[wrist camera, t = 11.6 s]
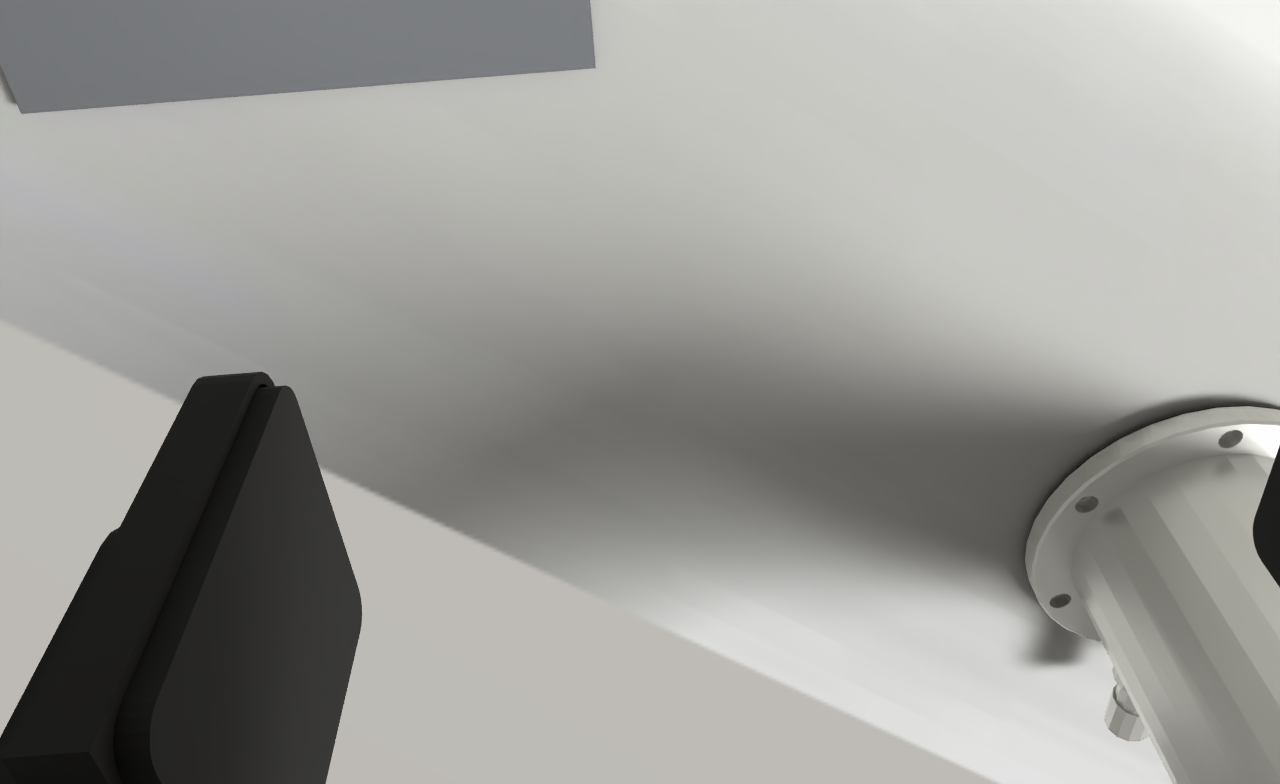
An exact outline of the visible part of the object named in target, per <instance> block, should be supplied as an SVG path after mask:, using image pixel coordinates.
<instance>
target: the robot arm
mask: <svg viewBox="0 0 1280 784" xmlns="http://www.w3.org/2000/svg"><path fill="white" fill-rule="evenodd" d="M1025 565H1026V570H1027V575H1028V580H1029V582H1030V584H1031V586H1032V588H1033V591H1034V593H1035V595H1036V597H1037V600H1038V602H1039V604H1040V605H1041V606H1042V608H1043V609H1044V610H1045V612H1046V613H1047V614H1048V615H1049V617H1050V618H1051V619H1053V620H1054V621H1055V622H1057V623H1058V624H1059V625H1061V626H1062V627H1063V628H1065V629H1066V630H1069V631H1071V632H1073V633H1075V634H1078V635H1080V636H1082V637H1085V638H1088V639H1092V640H1097V641H1101V642H1102V643H1103V645H1104V647H1105V649H1106V651H1107V653H1108V655H1109V657H1110V659H1111V661H1112V663H1113V665H1114V667H1113V674H1114V679H1115V681H1116V682H1117V683H1118V684H1117V685H1116V686H1115V687H1114V688H1113V691H1112V694H1111V697H1110V700H1109V703H1108V706H1107V709H1106V711H1105V719H1104V721H1105V723H1106V725H1107V727H1108V729H1109V730H1110V731H1111V732H1112V733H1114V734H1115V735H1116V736H1117V737H1119V738H1122V739H1124V740H1127V741H1141V740H1143V739H1145V738H1147V737H1148V735H1149V737H1150V739H1151V741H1152V743H1153V745H1154V747H1155V749H1156V751H1157V753H1158V755H1159V757H1160V759H1161V761H1162V763H1163V765H1164V767H1165V769H1166V771H1167V773H1168V775H1169V777H1170V779H1171V781H1172V782H1173V784H1280V410H1277V409H1269V408H1260V407H1251V406H1242V407H1221V408H1213V409H1207V410H1202V411H1197V412H1192V413H1186V414H1182V415H1179V416H1176V417H1172V418H1169V419H1166V420H1163V421H1160V422H1157V423H1154V424H1151V425H1149V426H1146V427H1144V428H1142V429H1140V430H1138V431H1136V432H1134V433H1132V434H1129V435H1127V436H1125V437H1123V438H1121V439H1119V440H1117V441H1116V442H1114V443H1113V444H1111V445H1109V446H1108V447H1106V448H1105V449H1103V450H1101V451H1100V452H1098V453H1097V454H1095V455H1094V456H1092V457H1091V458H1090V459H1088V460H1087V461H1086V462H1085V463H1084V464H1082V465H1081V466H1080V467H1079V468H1078V469H1076V470H1075V471H1074V472H1073V473H1072V474H1070V475H1069V476H1068V477H1067V478H1066V479H1065V480H1064V481H1063V483H1062V484H1061V485H1060V486H1059V487H1058V488H1057V489H1056V490H1055V491H1054V493H1053V494H1052V495H1051V496H1050V497H1049V498H1048V500H1047V501H1046V503H1045V504H1044V506H1043V508H1042V509H1041V511H1040V513H1039V514H1038V516H1037V517H1036V519H1035V521H1034V523H1033V526H1032V529H1031V532H1030V534H1029V537H1028V540H1027V546H1026V556H1025ZM361 621H362V605H361V597H360V593H359V589H358V585H357V582H356V579H355V576H354V573H353V570H352V567H351V564H350V561H349V558H348V555H347V552H346V549H345V546H344V543H343V539H342V536H341V533H340V530H339V527H338V524H337V521H336V518H335V515H334V512H333V509H332V506H331V503H330V500H329V497H328V493H327V490H326V487H325V484H324V481H323V478H322V475H321V472H320V469H319V466H318V463H317V460H316V457H315V454H314V451H313V447H312V444H311V441H310V438H309V435H308V432H307V429H306V426H305V423H304V420H303V417H302V414H301V411H300V408H299V405H298V402H297V399H296V396H295V394H294V392H293V391H292V389H291V388H290V387H288V386H277V387H275V386H274V383H273V381H272V380H271V378H270V377H269V376H268V375H267V374H266V373H263V372H254V373H242V374H229V375H217V376H205V377H201V378H199V379H197V380H196V382H195V383H194V384H193V386H192V388H191V390H190V392H189V394H188V395H187V397H186V399H185V401H184V403H183V405H182V407H181V409H180V411H179V413H178V415H177V417H176V419H175V421H174V423H173V425H172V427H171V429H170V431H169V433H168V435H167V436H166V438H165V440H164V442H163V444H162V446H161V448H160V450H159V452H158V454H157V456H156V458H155V460H154V462H153V464H152V466H151V467H150V469H149V471H148V473H147V476H146V477H145V479H144V481H143V483H142V485H141V487H140V489H139V491H138V493H137V495H136V497H135V499H134V501H133V503H132V504H131V506H130V508H129V510H128V512H127V514H126V516H125V518H124V520H123V522H122V524H121V526H120V527H119V528H118V529H116V530H114V531H113V532H111V533H110V534H109V535H108V537H107V538H106V539H105V541H104V542H103V543H102V545H101V546H100V548H99V550H98V552H97V554H96V556H95V558H94V560H93V561H92V563H91V565H90V567H89V569H88V571H87V573H86V575H85V577H84V579H83V581H82V582H81V584H80V586H79V588H78V590H77V592H76V594H75V596H74V598H73V600H72V602H71V603H70V605H69V607H68V609H67V611H66V613H65V615H64V617H63V619H62V621H61V623H60V624H59V626H58V628H57V630H56V632H55V634H54V636H53V638H52V640H51V642H50V644H49V645H48V648H47V649H46V651H45V653H44V655H43V657H42V659H41V661H40V663H39V665H38V666H37V668H36V670H35V672H34V674H33V676H32V678H31V680H30V682H29V684H28V686H27V687H26V689H25V692H24V693H23V695H22V697H21V699H20V701H19V703H18V705H17V707H16V708H15V710H14V712H13V714H12V716H11V718H10V720H9V722H8V724H7V726H6V728H5V729H4V731H3V734H2V735H1V737H0V784H325V783H326V779H327V774H328V770H329V766H330V761H331V757H332V752H333V748H334V744H335V739H336V735H337V730H338V726H339V722H340V717H341V713H342V708H343V704H344V700H345V695H346V691H347V687H348V682H349V678H350V674H351V669H352V665H353V661H354V656H355V651H356V647H357V643H358V639H359V634H360V629H361Z"/></svg>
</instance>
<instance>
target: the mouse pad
mask: <svg viewBox="0 0 1280 784" xmlns="http://www.w3.org/2000/svg"><path fill="white" fill-rule="evenodd" d="M0 66H1V68H2V70H3V73H4V75H5V77H6V80H7V82H8V84H9V87H10V89H11V91H12V93H13V96H14V98H15V100H16V103H17V105H18V107H19V110H20V112H21V114H24V113H37V112H49V111H62V110H74V109H87V108H100V107H112V106H125V105H137V104H150V103H163V102H175V101H188V100H200V99H213V98H225V97H238V96H251V95H263V94H276V93H288V92H301V91H313V90H326V89H339V88H351V87H364V86H376V85H389V84H402V83H414V82H427V81H439V80H452V79H464V78H477V77H490V76H502V75H515V74H527V73H540V72H552V71H565V70H578V69H590V68H595V56H594V44H593V32H592V20H591V8H590V0H0Z"/></svg>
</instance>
